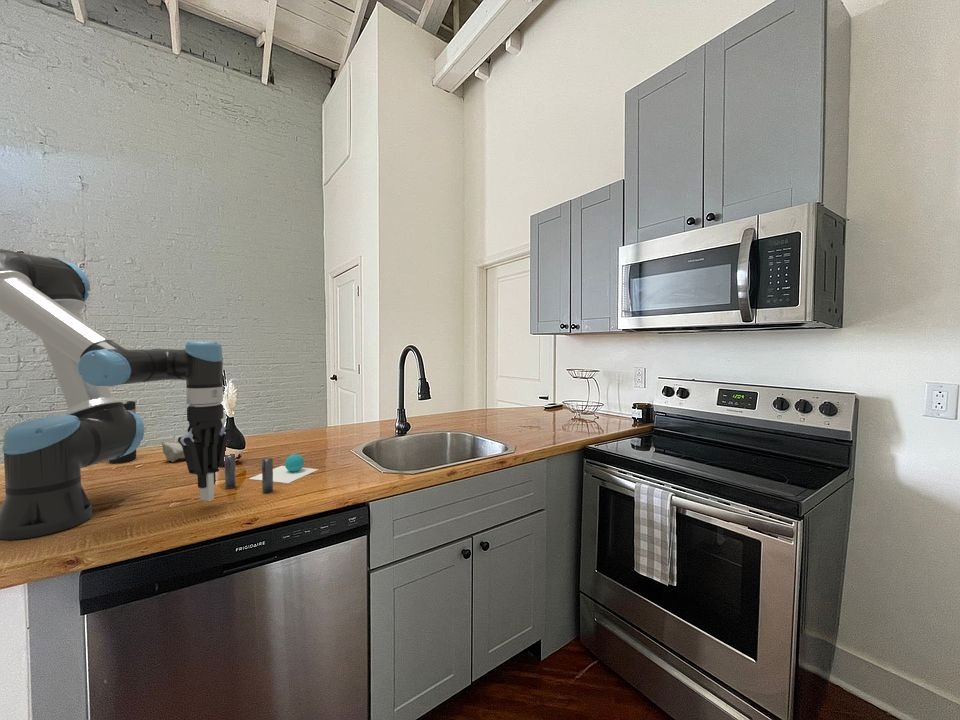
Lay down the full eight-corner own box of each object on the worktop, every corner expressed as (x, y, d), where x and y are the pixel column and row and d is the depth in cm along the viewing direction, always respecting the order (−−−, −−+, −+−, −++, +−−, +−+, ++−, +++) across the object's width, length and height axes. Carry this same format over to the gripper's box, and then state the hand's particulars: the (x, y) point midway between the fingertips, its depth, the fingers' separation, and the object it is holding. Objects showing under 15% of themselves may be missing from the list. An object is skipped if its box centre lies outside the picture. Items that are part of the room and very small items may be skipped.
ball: (302, 476, 133) (294, 466, 129) (287, 474, 134) (278, 465, 130) (309, 460, 137) (302, 451, 133) (294, 459, 138) (286, 450, 134)
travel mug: (120, 464, 140) (118, 404, 139) (101, 463, 142) (100, 403, 141) (143, 458, 148) (141, 401, 147) (125, 457, 149) (123, 400, 148)
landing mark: (287, 483, 122) (287, 483, 122) (248, 479, 126) (248, 478, 126) (318, 469, 136) (318, 469, 136) (281, 466, 139) (281, 465, 139)
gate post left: (230, 489, 117) (229, 457, 117) (222, 488, 118) (222, 456, 118) (238, 486, 120) (237, 454, 120) (230, 485, 121) (230, 454, 120)
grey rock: (158, 434, 146) (208, 430, 157) (157, 460, 146) (207, 454, 157) (166, 440, 138) (218, 435, 150) (165, 466, 138) (216, 460, 150)
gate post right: (268, 493, 114) (267, 460, 114) (260, 492, 115) (259, 459, 114) (275, 490, 117) (274, 458, 116) (267, 489, 117) (266, 457, 117)
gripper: (192, 409, 96) (195, 511, 97) (239, 401, 109) (240, 491, 110) (167, 407, 98) (169, 507, 99) (216, 400, 111) (217, 489, 112)
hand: (207, 499), depth 105 cm, fingers closed
